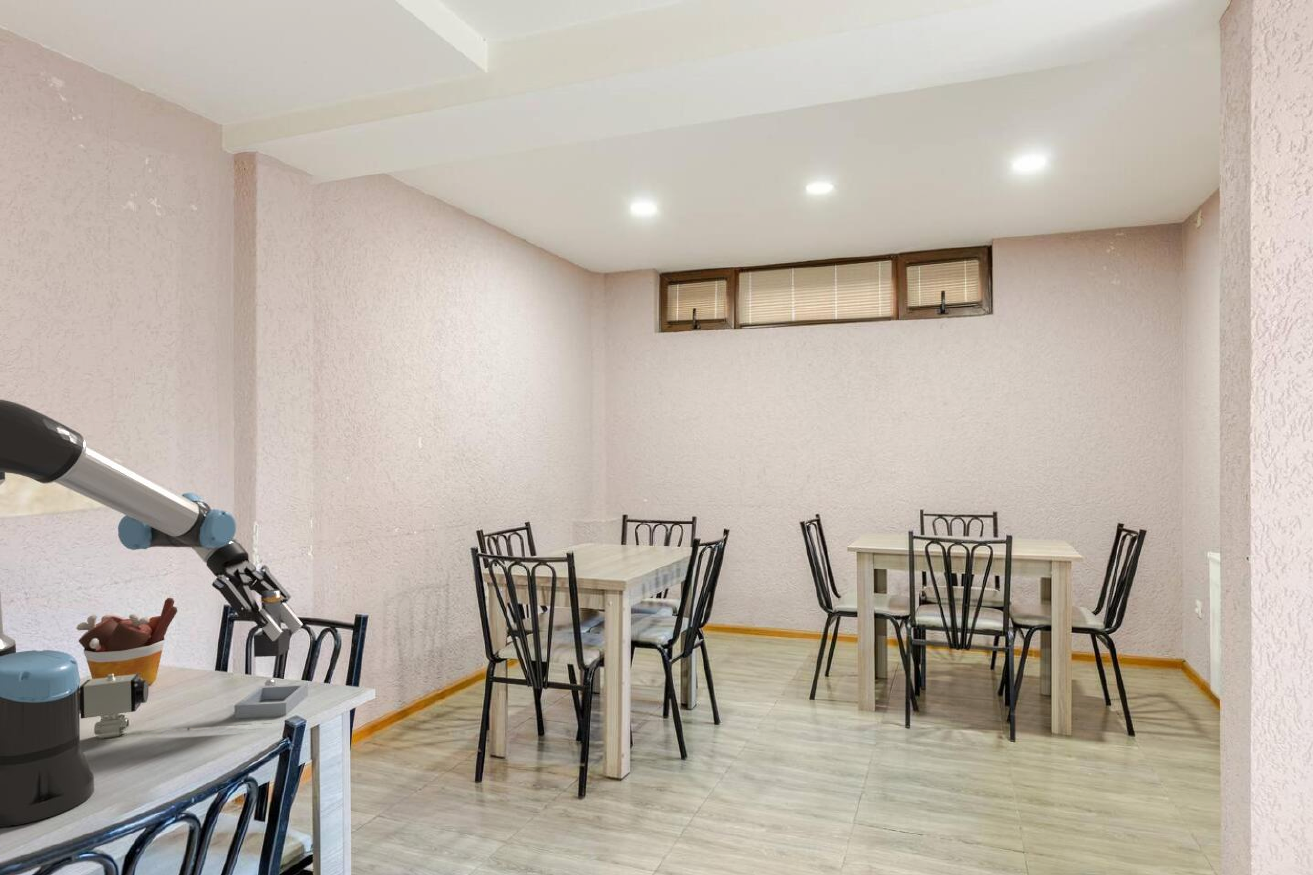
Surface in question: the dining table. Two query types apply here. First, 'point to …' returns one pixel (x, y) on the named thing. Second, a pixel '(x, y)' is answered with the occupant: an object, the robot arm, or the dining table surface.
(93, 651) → the bucket of meat
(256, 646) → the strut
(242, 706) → the bin
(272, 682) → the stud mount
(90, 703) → the pneumatic valve
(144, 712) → the dining table surface
